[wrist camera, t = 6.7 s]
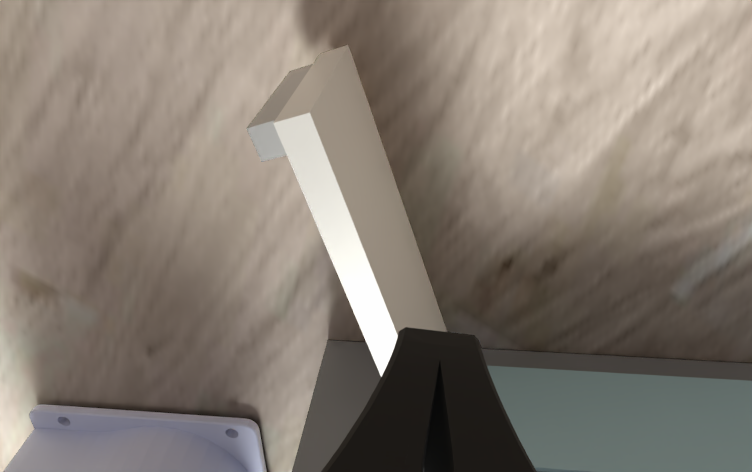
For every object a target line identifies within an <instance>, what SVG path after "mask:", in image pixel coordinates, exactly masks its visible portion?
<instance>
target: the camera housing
mask: <svg viewBox="0 0 752 472" xmlns="http://www.w3.org/2000/svg"><path fill="white" fill-rule="evenodd" d="M482 352H483V356H484V359H485V362H486V365H487V367H488V370H489V373H490V375H491V378H492V381H493V383H494V385H495V388H496V390H497V393H498V395H499V397H500V400H501V402H502V404H503V407H504V409H505V411H506V413H507V415H508V417H509V419H510V421H511V423H512V425H513V428H514V430H515V432H516V434H517V436H518V438H519V440H520V442H521V444H522V446H523V447H524V449H525V451H526V453H527V455H528V457H529V459H530V460H531V462H532V464H533V466H534V468H535V469H536V471H537V472H752V363H734V362H716V361H698V360H679V359H661V358H643V357H624V356H606V355H588V354H570V353H551V352H533V351H515V350H497V349H482ZM380 379H381V375H380V373H379V371H378V368H377V366H376V364H375V361H374V359H373V356H372V354H371V352H370V349H369V347H368V345H367V342H351V341H332V340H328V341H327V345H326V348H325V352H324V356H323V359H322V363H321V367H320V370H319V374H318V378H317V381H316V385H315V389H314V393H313V396H312V400H311V404H310V407H309V411H308V415H307V418H306V422H305V426H304V429H303V433H302V437H301V441H300V444H299V448H298V452H297V455H296V459H295V463H294V466H293V470H292V472H321V471H322V470H323V468H324V467H325V466H326V464H327V463H328V462H329V460H330V459H331V457H332V456H333V455H334V453H335V452H336V451H337V449H338V448H339V446H340V445H341V443H342V442H343V440H344V439H345V437H346V436H347V434H348V433H349V431H350V430H351V428H352V427H353V425H354V424H355V422H356V421H357V419H358V417H359V416H360V414H361V413H362V411H363V409H364V408H365V406H366V404H367V402H368V401H369V399H370V397H371V395H372V393H373V392H374V390H375V388H376V386H377V384H378V383H379V381H380ZM423 472H424V469H423Z"/></svg>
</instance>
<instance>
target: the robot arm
mask: <svg viewBox="0 0 752 472" xmlns="http://www.w3.org/2000/svg"><path fill="white" fill-rule="evenodd" d="M29 416H30V419H31V422H32V424H33V426H34V428H35V429H34V430H33V431H32V433H31V434H30V435H29V437H28V438H27V440H26V441H25V442H24V444H23V445H22V446H21V448H20V449H19V450H18V452H17V453H16V455H15V456H14V457H13V459H12V460H11V461H10V463H9V464H8V466H7V467H6V468H5V470H4V471H3V472H267V471H266V465H265V459H264V453H263V448H262V442H261V436H260V430H259V427H258V425H257V424H256V423H255V422H254V421H252V420H250V419H246V418H233V417H218V416H204V415H189V414H175V413H161V412H146V411H132V410H117V409H103V408H89V407H74V406H60V405H45V404H40V405H36V406H35V407H34V408H33V409H32V411H31V412H30V414H29ZM233 429H234V430H233ZM423 469H424V472H537V471H536V469H535V468H534V466H533V464H532V462H531V460H530V459H529V457H528V455H527V453H526V451H525V449H524V447H523V446H522V444H521V442H520V440H519V438H518V436H517V434H516V432H515V430H514V428H513V425H512V423H511V421H510V419H509V417H508V415H507V413H506V411H505V409H504V407H503V404H502V402H501V400H500V397H499V395H498V393H497V390H496V388H495V385H494V383H493V381H492V378H491V375H490V373H489V370H488V367H487V365H486V362H485V359H484V356H483V352H482V349H481V345H480V341H479V340H478V339H477V338H476V337H475V335H468V334H459V333H451V332H442V331H434V330H426V329H417V328H409V327H405V328H404V329H402V330H400V331H399V333H398V337H397V341H396V344H395V347H394V350H393V353H392V355H391V357H390V360H389V362H388V364H387V366H386V369H385V371H384V373H383V375H382V377H381V379H380V381H379V383H378V384H377V386H376V388H375V390H374V392H373V393H372V395H371V397H370V399H369V401H368V402H367V404H366V406H365V408H364V409H363V411H362V413H361V414H360V416H359V417H358V419H357V421H356V422H355V424H354V425H353V427H352V428H351V430H350V431H349V433H348V434H347V436H346V437H345V439H344V440H343V442H342V443H341V445H340V446H339V448H338V449H337V451H336V452H335V453H334V455H333V456H332V457H331V459H330V460H329V462H328V463H327V464H326V466H325V467H324V468H323V470H322V471H321V472H423Z"/></svg>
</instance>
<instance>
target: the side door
mask: <svg viewBox="0 0 752 472" xmlns="http://www.w3.org/2000/svg"><path fill="white" fill-rule="evenodd" d="M247 131H248V133H249V135H250V137H251V139H252V142H253V144H254V146H255V148H256V151H257V153H258V155H259V157H260V159H261V162H263V161H267V160H271V159H275V158H278V157H282V156H286V155H287V157H288V159H289V162H290V164H291V166H292V169H293V171H294V173H295V176H296V178H297V180H298V183H299V185H300V187H301V190H302V192H303V194H304V197H305V199H306V201H307V204H308V206H309V208H310V211H311V213H312V216H313V218H314V220H315V223H316V225H317V227H318V230H319V232H320V234H321V237H322V239H323V241H324V244H325V246H326V248H327V251H328V253H329V255H330V258H331V260H332V263H333V265H334V267H335V270H336V272H337V274H338V277H339V279H340V281H341V284H342V286H343V288H344V291H345V293H346V295H347V298H348V300H349V302H350V305H351V307H352V309H353V312H354V314H355V317H356V319H357V321H358V324H359V326H360V328H361V331H362V333H363V335H364V338H365V340H366V342H367V345H368V347H369V349H370V352H371V354H372V356H373V359H374V361H375V364H376V366H377V368H378V371H379V373H380V375H381V377H382V375H383V373H384V371H385V369H386V366H387V364H388V362H389V360H390V357H391V355H392V353H393V350H394V347H395V344H396V341H397V337H398V333H399V331H400V330H402V329H404V328H405V327H409V328H417V329H426V330H434V331H442V332H447V330H446V327H445V324H444V321H443V318H442V315H441V312H440V309H439V307H438V304H437V301H436V298H435V295H434V292H433V289H432V286H431V283H430V280H429V278H428V275H427V272H426V269H425V266H424V263H423V260H422V257H421V254H420V251H419V249H418V246H417V243H416V240H415V237H414V234H413V231H412V228H411V225H410V222H409V220H408V217H407V214H406V211H405V208H404V205H403V202H402V199H401V196H400V193H399V191H398V188H397V185H396V182H395V179H394V176H393V173H392V170H391V167H390V164H389V162H388V159H387V156H386V153H385V150H384V147H383V144H382V141H381V138H380V135H379V133H378V130H377V127H376V124H375V121H374V118H373V115H372V112H371V109H370V106H369V104H368V101H367V98H366V95H365V92H364V89H363V86H362V83H361V80H360V78H359V75H358V72H357V69H356V66H355V63H354V60H353V57H352V54H351V51H350V49H349V46H348V45H346V46H343V47H339V48H336V49H333V50H330V51H326V52H323V53H320V54H319V56H318V57H317V59H316V60H315V62H314V63H313V64H311V65H308V66H305V67H302V68H298V69H295V70H292V71H290V72H289V73H288V74H287V76H286V77H285V78H284V80H283V81H282V82H281V83H280V85H279V86H278V87H277V89H276V90H275V91H274V93H273V94H272V95H271V97H270V98H269V99H268V101H267V102H266V103H265V105H264V106H263V107H262V109H261V110H260V111H259V113H258V114H257V115H256V117H255V118H254V119H253V121H252V122H251V123H250V125H249V126H248V127H247Z"/></svg>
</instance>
